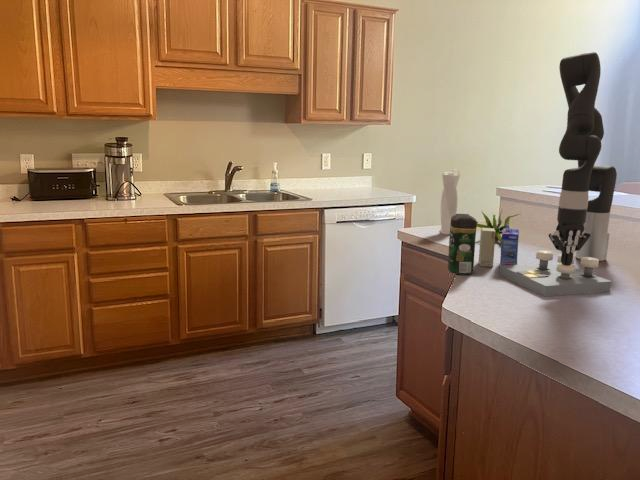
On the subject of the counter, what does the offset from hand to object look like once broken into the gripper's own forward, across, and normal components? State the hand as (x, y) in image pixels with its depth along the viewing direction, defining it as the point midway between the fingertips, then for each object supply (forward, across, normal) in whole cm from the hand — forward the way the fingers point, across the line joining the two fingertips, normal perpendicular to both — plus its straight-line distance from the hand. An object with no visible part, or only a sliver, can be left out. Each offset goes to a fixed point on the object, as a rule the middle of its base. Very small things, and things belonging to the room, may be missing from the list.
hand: (566, 264), depth 162 cm
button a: (+5, -8, -10) cm, 14 cm away
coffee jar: (+7, +21, -22) cm, 32 cm away
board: (+7, 0, -5) cm, 9 cm away
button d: (+5, 0, 0) cm, 5 cm away
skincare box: (+7, +8, -28) cm, 31 cm away
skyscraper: (+7, -4, -80) cm, 80 cm away
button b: (+4, -8, 0) cm, 9 cm away
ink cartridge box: (+7, +2, -24) cm, 26 cm away
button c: (+4, 0, -10) cm, 11 cm away
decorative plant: (+7, -15, -57) cm, 59 cm away
